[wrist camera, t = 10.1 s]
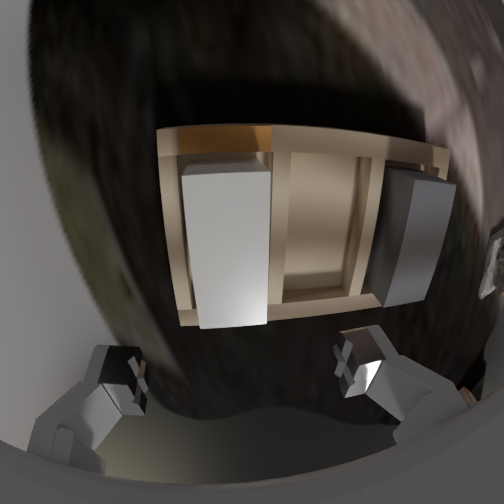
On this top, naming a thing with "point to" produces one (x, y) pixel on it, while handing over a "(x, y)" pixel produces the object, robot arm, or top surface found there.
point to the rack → (322, 213)
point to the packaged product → (493, 266)
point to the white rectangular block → (228, 239)
